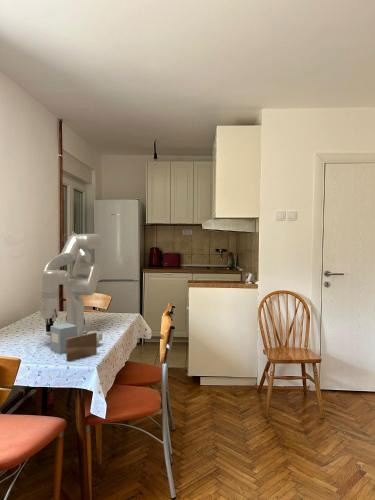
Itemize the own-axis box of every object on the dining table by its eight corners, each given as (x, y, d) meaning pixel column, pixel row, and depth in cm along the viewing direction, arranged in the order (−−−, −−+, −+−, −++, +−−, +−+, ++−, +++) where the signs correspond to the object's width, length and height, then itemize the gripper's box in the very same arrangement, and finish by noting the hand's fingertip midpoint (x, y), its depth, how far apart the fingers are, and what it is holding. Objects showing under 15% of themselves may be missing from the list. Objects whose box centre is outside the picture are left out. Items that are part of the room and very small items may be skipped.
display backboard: (66, 360, 162) (65, 338, 162) (94, 353, 173) (94, 332, 173) (67, 361, 161) (67, 339, 161) (96, 353, 172) (96, 332, 172)
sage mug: (84, 346, 185) (84, 332, 185) (98, 342, 192) (98, 329, 191) (91, 348, 181) (91, 334, 181) (105, 344, 188) (105, 331, 187)
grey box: (50, 350, 177) (50, 326, 177) (67, 346, 184) (67, 323, 184) (59, 354, 172) (59, 329, 171) (77, 350, 178) (77, 325, 178)
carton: (77, 320, 249) (78, 313, 248) (85, 324, 235) (85, 318, 235) (65, 321, 244) (65, 315, 244) (72, 326, 231) (72, 319, 230)
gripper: (36, 294, 188) (35, 330, 188) (50, 297, 178) (49, 334, 178) (49, 293, 194) (49, 328, 193) (64, 296, 184) (64, 332, 183)
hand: (49, 331), depth 186 cm, fingers closed
